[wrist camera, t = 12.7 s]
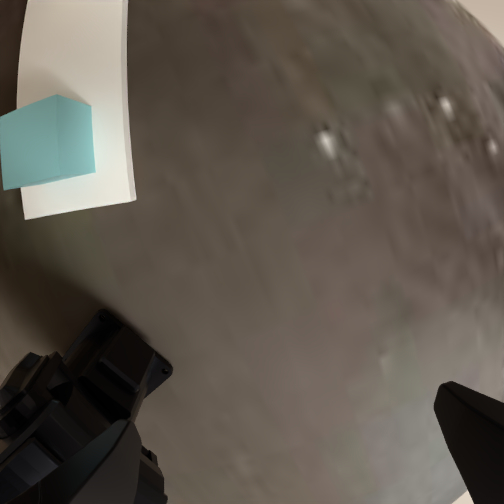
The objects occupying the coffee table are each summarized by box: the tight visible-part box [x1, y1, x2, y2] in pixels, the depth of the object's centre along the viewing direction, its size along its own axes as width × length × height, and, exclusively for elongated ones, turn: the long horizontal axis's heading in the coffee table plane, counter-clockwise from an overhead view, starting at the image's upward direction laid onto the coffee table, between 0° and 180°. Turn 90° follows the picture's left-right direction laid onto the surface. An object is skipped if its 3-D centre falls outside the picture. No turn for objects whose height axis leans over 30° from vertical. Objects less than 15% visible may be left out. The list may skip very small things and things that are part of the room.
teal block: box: [0, 94, 96, 190], centre depth 14 cm, size 4×4×4 cm
